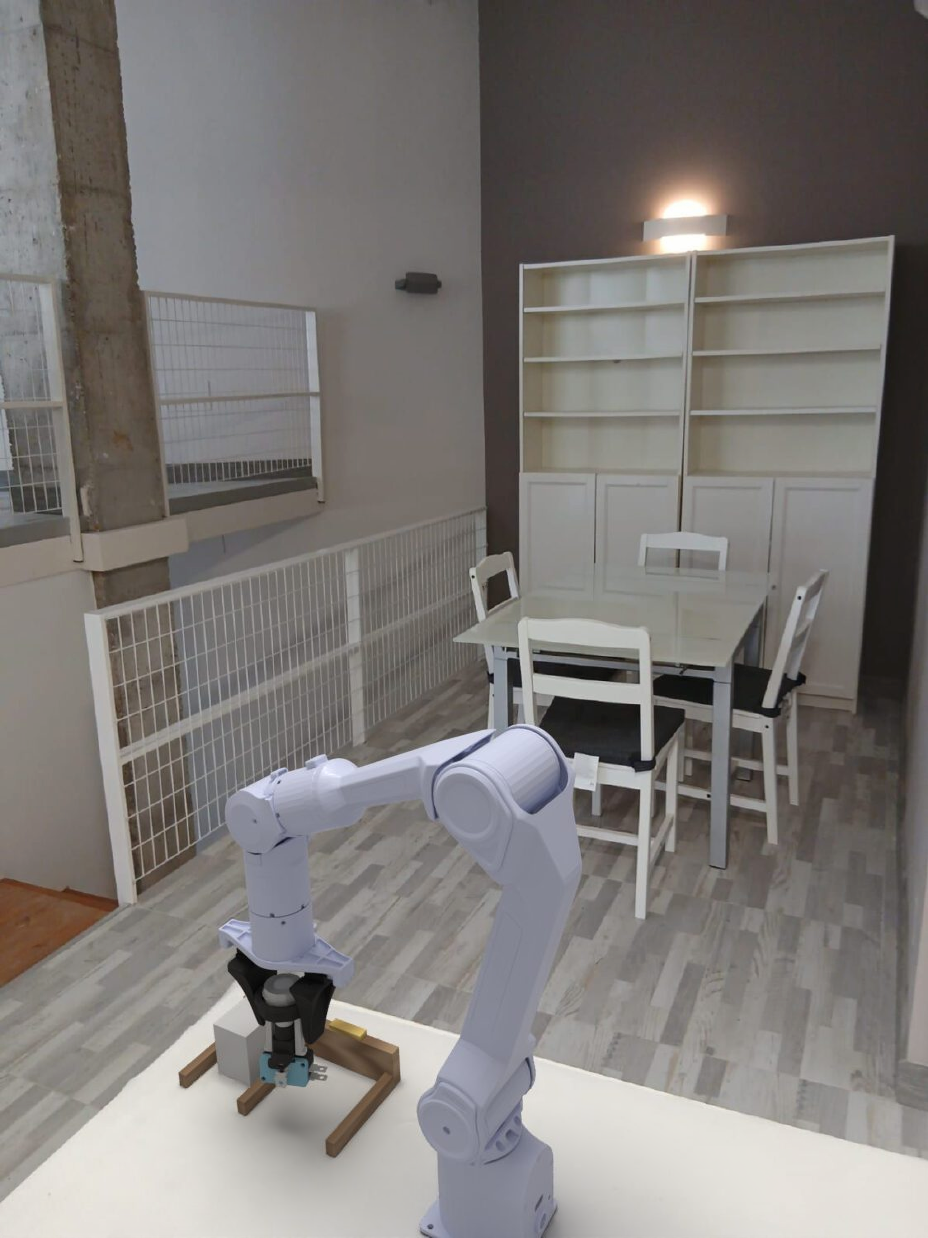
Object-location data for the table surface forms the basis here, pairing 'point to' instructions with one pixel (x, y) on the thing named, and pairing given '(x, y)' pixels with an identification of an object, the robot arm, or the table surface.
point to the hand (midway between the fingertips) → (290, 1028)
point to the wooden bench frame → (338, 1047)
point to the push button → (284, 1036)
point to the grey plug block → (239, 1043)
